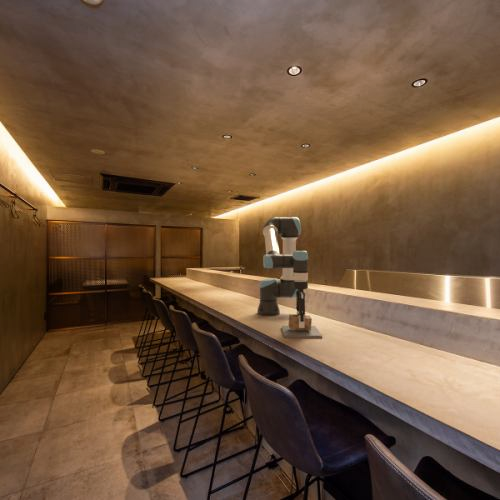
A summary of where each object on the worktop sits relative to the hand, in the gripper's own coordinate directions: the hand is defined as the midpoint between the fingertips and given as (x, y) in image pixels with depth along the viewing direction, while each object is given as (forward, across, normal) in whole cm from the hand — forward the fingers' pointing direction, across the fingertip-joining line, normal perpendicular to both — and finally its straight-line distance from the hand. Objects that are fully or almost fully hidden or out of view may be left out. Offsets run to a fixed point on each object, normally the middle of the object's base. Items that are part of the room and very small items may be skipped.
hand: (300, 325), depth 148 cm
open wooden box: (+1, 0, 0) cm, 1 cm away
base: (+4, 0, 0) cm, 4 cm away
